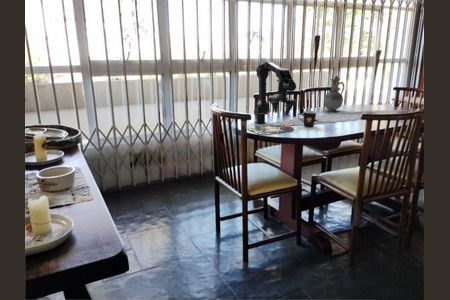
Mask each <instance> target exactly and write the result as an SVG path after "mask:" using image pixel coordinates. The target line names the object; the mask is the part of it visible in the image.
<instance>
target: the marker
mask: <svg viewBox="0 0 450 300" xmlns="http://www.w3.org/2000/svg"><path fill="white" fill-rule="evenodd" d="M263 126H264V125H261V124H254V128H255V129H257V130H259V131H262V132H265V131H266V128H265V127H263Z"/></svg>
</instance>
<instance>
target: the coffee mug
mask: <svg viewBox="0 0 450 300" xmlns="http://www.w3.org/2000/svg"><path fill="white" fill-rule="evenodd" d="M300 115H301V116H302V117H303V119H301V118H300V117H299V116H300ZM316 115H317V112H316V111H313V110H312V111H311V110H304V111H303V113H298V114H297V118H298V119H299V120H300V121H301V122H302V123H303V127H304V126H305V128H314V127H315V121H316Z"/></svg>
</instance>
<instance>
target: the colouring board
mask: <svg viewBox="0 0 450 300" xmlns="http://www.w3.org/2000/svg"><path fill="white" fill-rule="evenodd" d="M262 126H263V127H265V128H266V131H265V132H262V131H259V130H257V129H255V127H248V128H247V130H248V129H250V130H252V131H255V132H258V133H261V134H267V133H275V134H278V133H277V132H283V133H285V132H284V130H281V129H280V128H277V127H275V126H272V125H266V126H265V125H262ZM252 131H251V132H252Z"/></svg>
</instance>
